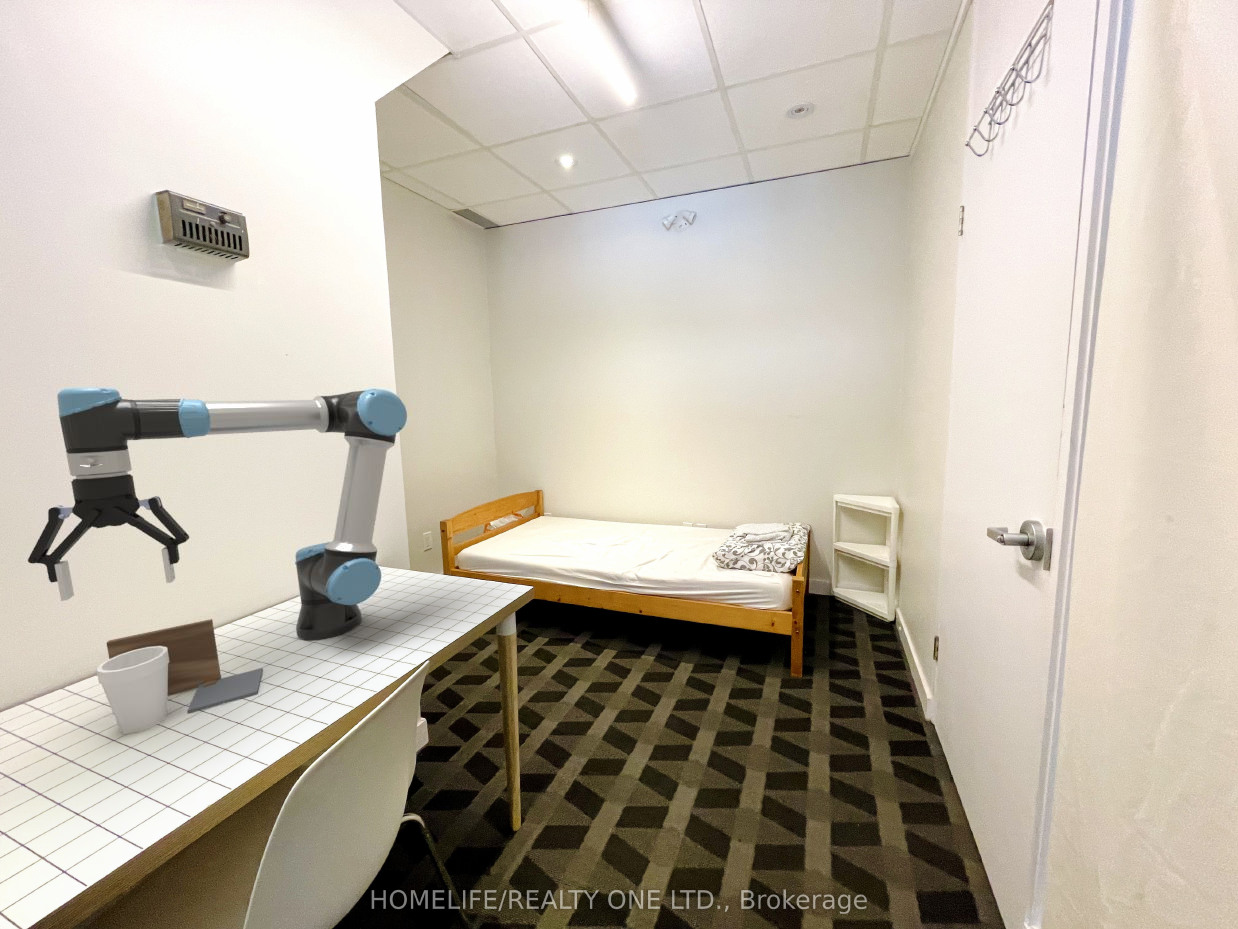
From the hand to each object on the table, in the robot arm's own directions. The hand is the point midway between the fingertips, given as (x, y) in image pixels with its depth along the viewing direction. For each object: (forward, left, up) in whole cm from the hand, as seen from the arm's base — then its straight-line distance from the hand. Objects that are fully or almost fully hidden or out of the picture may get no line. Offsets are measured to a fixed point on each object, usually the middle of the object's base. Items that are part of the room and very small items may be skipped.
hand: (121, 589), depth 87 cm
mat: (-4, +12, -27) cm, 30 cm away
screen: (-10, +2, -27) cm, 29 cm away
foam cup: (0, 0, -27) cm, 27 cm away
